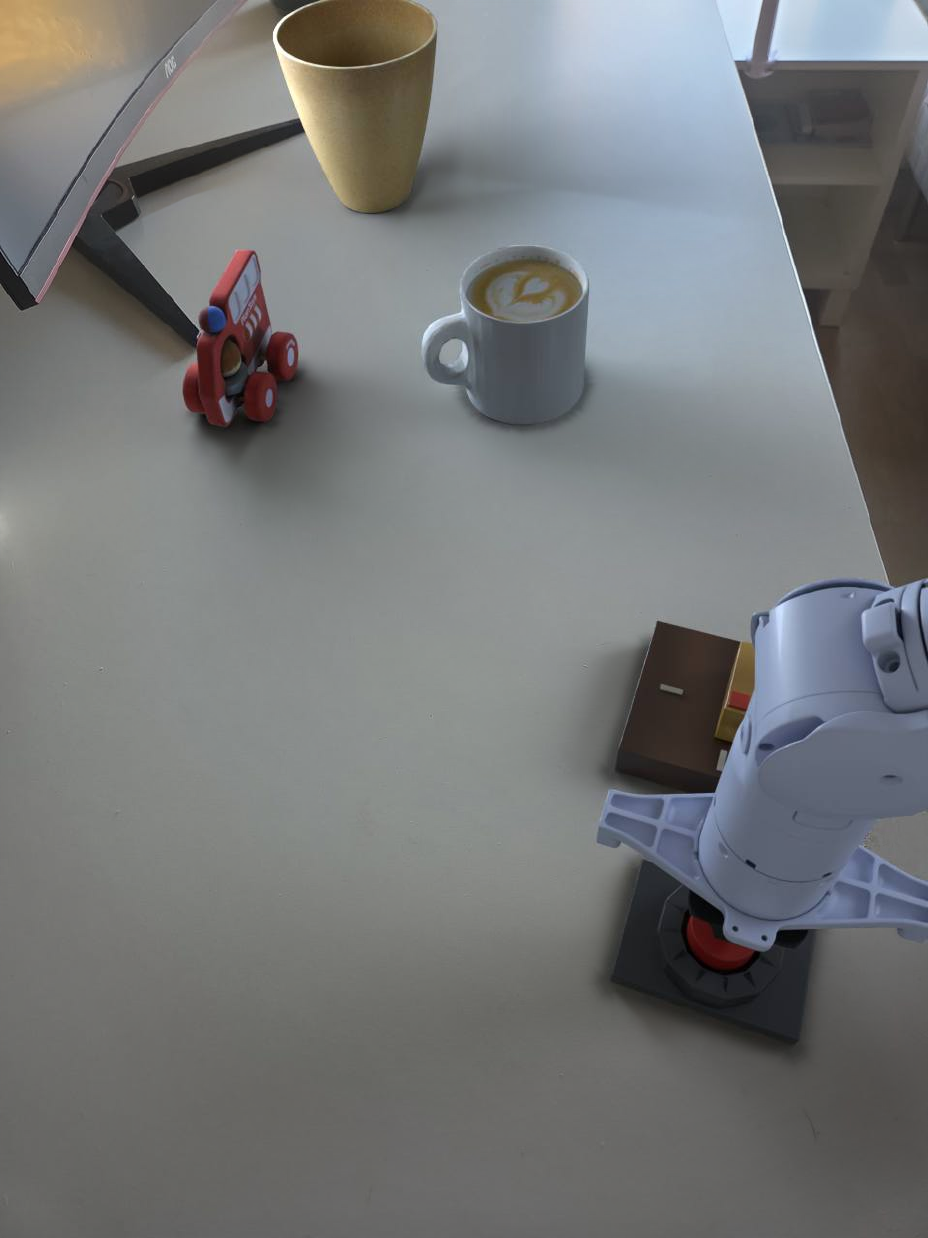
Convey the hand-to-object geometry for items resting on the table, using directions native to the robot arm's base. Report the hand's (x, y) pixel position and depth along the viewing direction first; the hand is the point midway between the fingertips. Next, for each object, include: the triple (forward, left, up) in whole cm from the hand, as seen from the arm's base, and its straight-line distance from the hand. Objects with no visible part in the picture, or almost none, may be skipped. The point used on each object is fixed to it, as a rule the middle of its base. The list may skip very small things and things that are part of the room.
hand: (729, 923), depth 50 cm
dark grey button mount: (0, 0, -5) cm, 5 cm away
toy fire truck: (+47, -34, -5) cm, 58 cm away
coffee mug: (+26, -41, -5) cm, 49 cm away
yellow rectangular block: (+2, -14, -2) cm, 14 cm away
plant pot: (+48, -65, -5) cm, 81 cm away
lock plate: (+2, -14, -5) cm, 15 cm away
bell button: (0, 0, -2) cm, 2 cm away
